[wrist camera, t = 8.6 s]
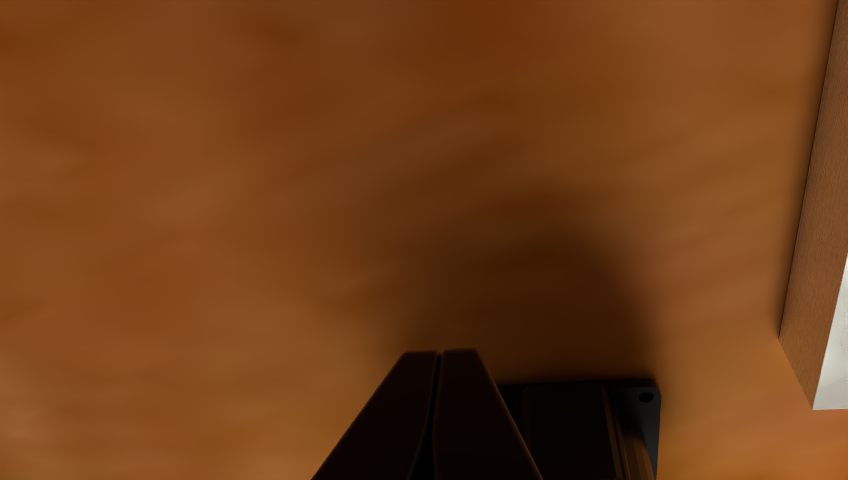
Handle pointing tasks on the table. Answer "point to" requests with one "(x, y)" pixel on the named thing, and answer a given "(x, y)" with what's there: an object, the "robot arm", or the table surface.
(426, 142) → the table surface
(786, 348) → the console panel
